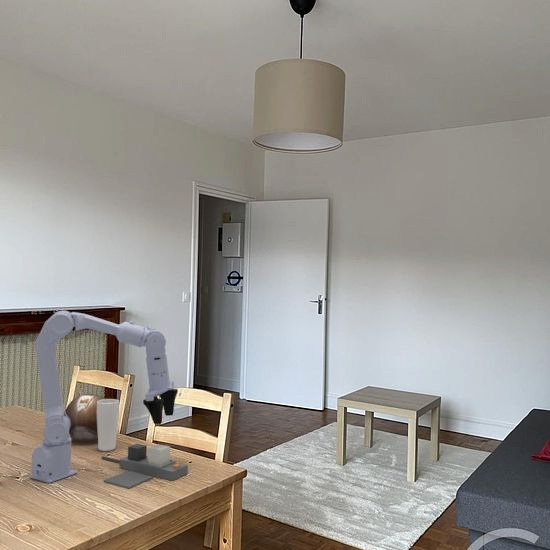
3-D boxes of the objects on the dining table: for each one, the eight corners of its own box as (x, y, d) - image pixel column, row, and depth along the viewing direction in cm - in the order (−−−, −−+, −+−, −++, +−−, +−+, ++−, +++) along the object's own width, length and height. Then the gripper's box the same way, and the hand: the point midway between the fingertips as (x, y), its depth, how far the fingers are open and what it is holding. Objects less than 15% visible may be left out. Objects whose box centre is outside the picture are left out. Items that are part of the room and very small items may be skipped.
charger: (160, 466, 151) (160, 450, 151) (147, 463, 153) (148, 447, 153) (170, 462, 154) (170, 446, 154) (157, 460, 157) (158, 444, 157)
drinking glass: (104, 453, 169) (105, 404, 169) (90, 449, 173) (92, 401, 173) (122, 448, 174) (123, 400, 174) (109, 444, 178) (110, 397, 179)
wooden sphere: (60, 447, 174) (62, 399, 174) (65, 434, 189) (66, 390, 189) (110, 444, 178) (111, 398, 178) (111, 432, 193) (112, 389, 193)
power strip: (172, 480, 147) (172, 458, 147) (94, 461, 161) (94, 441, 161) (187, 473, 153) (188, 452, 153) (110, 455, 167) (111, 436, 167)
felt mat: (129, 488, 141) (129, 487, 141) (103, 481, 145) (103, 480, 145) (153, 478, 149) (153, 476, 149) (128, 472, 153) (128, 470, 153)
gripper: (159, 377, 150) (165, 426, 150) (181, 365, 164) (186, 411, 164) (136, 378, 152) (142, 427, 152) (159, 367, 166) (164, 412, 166)
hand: (163, 419), depth 158 cm, fingers open, 7 cm apart
